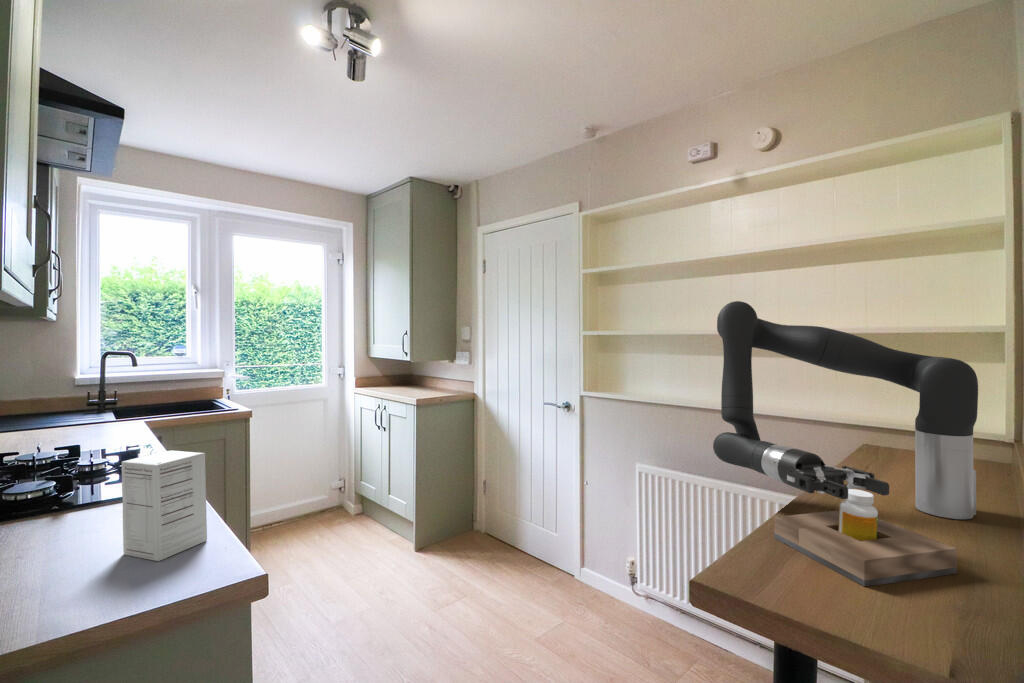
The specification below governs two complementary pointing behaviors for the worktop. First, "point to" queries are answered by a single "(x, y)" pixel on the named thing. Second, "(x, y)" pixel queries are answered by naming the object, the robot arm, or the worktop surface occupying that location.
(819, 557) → the socket block
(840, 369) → the robot arm
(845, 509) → the supplement bottle
